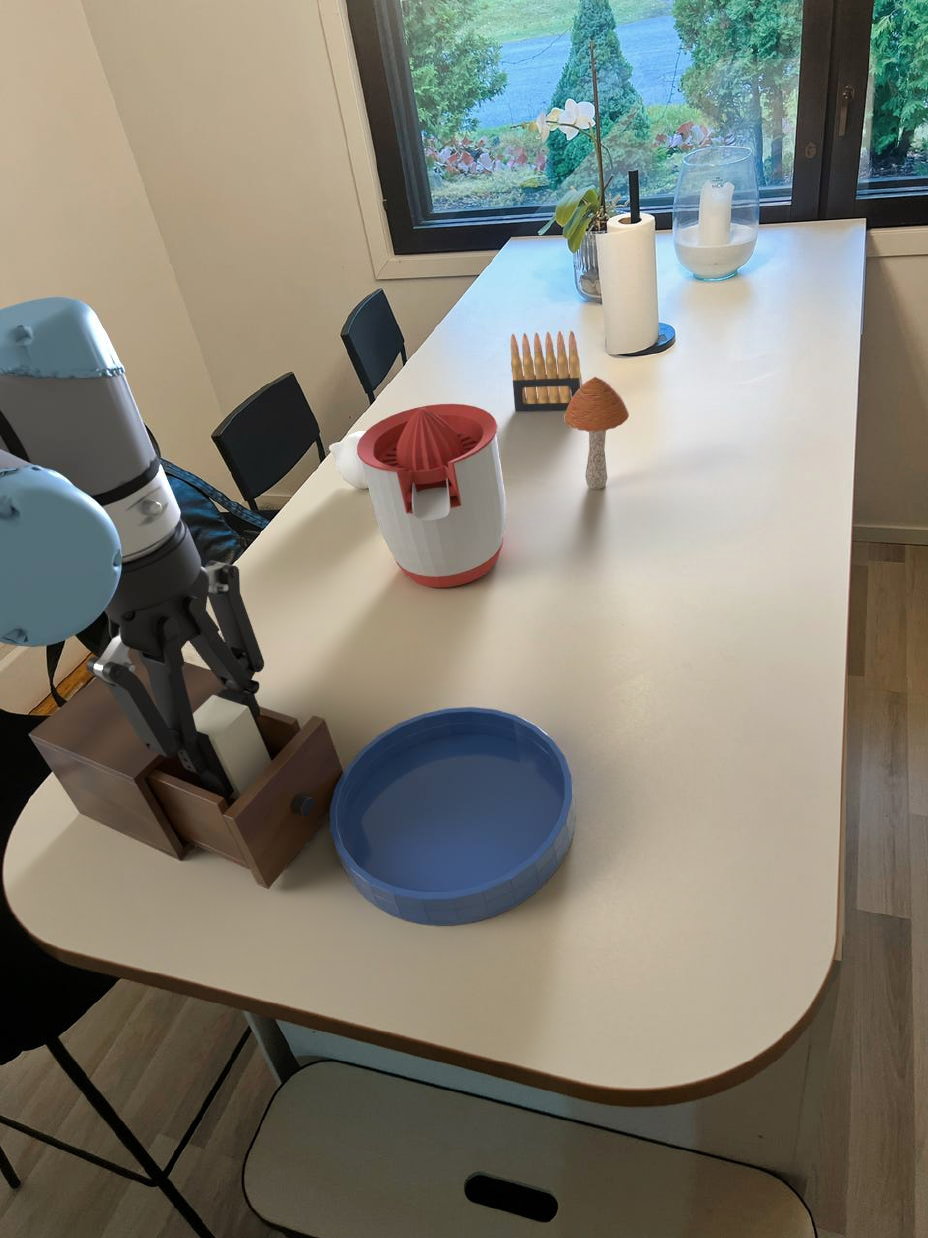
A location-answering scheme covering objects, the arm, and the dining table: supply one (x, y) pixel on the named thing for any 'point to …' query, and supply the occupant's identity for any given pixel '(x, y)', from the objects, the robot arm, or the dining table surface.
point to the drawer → (257, 799)
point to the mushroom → (596, 423)
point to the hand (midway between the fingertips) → (238, 768)
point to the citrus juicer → (437, 491)
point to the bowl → (454, 815)
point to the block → (233, 741)
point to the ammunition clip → (539, 379)
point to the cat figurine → (350, 460)
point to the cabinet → (115, 758)
